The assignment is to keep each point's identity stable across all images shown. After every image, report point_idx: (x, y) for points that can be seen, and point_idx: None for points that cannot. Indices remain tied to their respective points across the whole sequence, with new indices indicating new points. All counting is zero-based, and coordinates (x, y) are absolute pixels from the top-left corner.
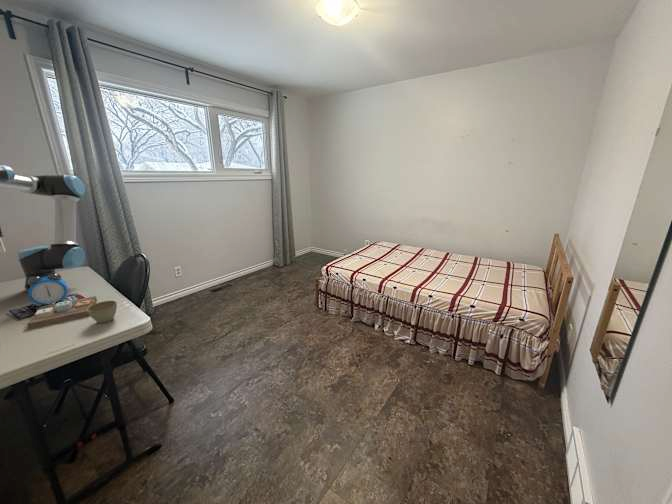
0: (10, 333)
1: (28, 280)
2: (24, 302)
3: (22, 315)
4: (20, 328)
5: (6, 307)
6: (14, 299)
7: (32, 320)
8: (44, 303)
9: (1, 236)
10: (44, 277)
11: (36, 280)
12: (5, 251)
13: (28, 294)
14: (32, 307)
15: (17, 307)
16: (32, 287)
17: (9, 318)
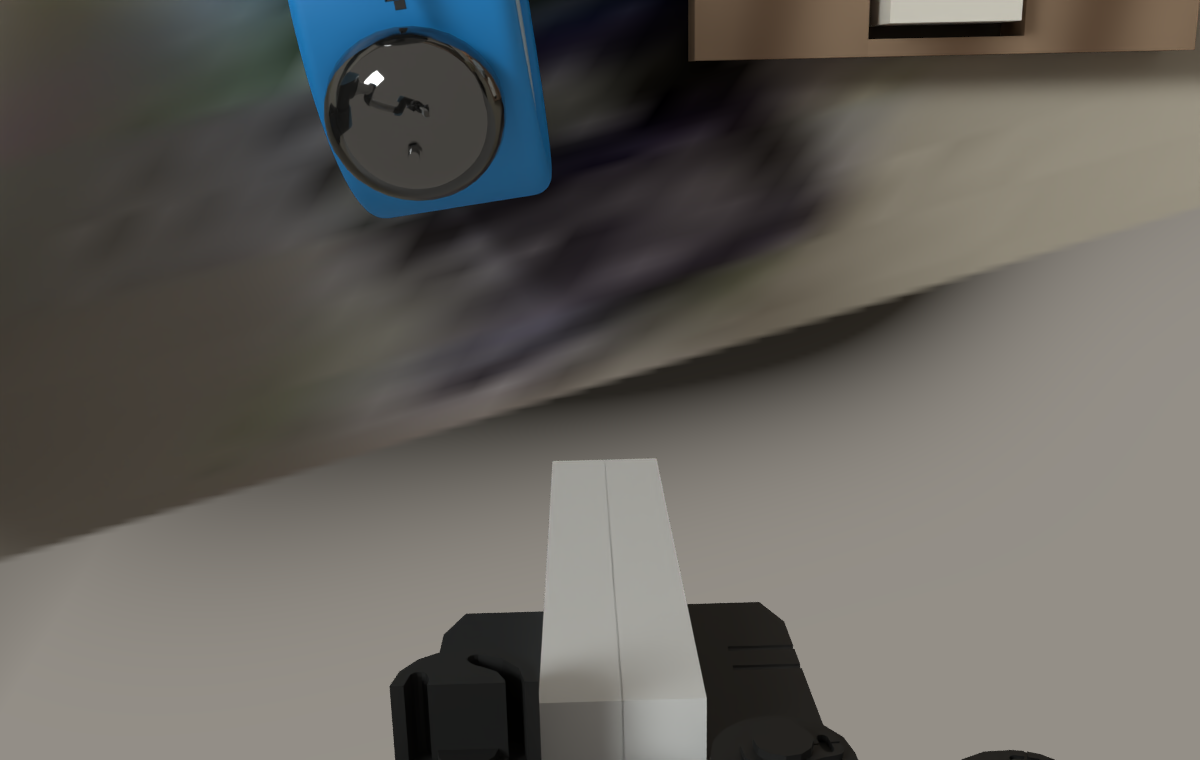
0: (1163, 184)
1: (446, 181)
2: (236, 334)
3: (696, 225)
4: (1090, 132)
5: (313, 460)
6: (55, 470)
7: (1134, 19)
8: (535, 63)
9: (512, 693)
10: (320, 5)
11: (486, 70)
12: (589, 461)
13: (543, 189)
14: None
15: (381, 353)
16: (538, 129)
17: (708, 322)
